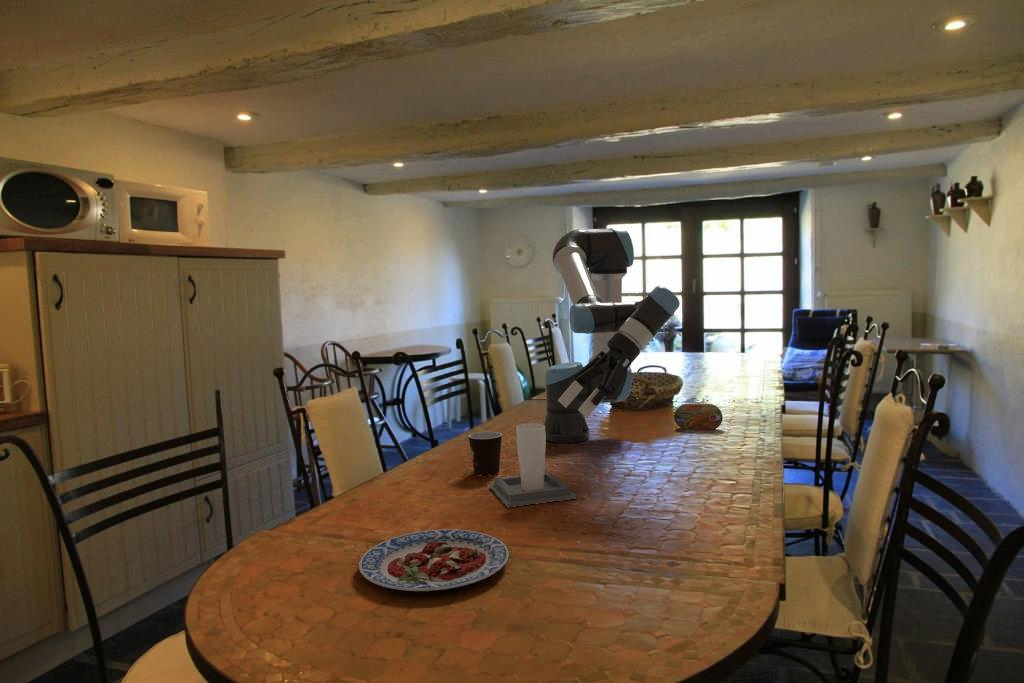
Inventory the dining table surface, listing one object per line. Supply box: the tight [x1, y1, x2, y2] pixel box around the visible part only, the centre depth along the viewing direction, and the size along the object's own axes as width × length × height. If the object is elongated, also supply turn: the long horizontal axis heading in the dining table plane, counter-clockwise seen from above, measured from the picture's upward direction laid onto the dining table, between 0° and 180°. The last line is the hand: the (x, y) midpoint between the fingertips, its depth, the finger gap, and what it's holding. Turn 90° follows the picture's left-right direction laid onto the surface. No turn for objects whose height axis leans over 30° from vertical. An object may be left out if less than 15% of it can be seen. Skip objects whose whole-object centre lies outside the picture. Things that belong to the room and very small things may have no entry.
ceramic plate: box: [358, 528, 510, 592], centre depth 117 cm, size 26×26×3 cm
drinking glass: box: [515, 422, 547, 491], centre depth 155 cm, size 7×7×15 cm
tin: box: [673, 403, 724, 431], centre depth 217 cm, size 15×3×8 cm, turn 73°
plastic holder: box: [489, 471, 577, 508], centre depth 156 cm, size 16×16×2 cm
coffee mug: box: [468, 431, 503, 477], centre depth 176 cm, size 12×9×10 cm
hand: (571, 409), depth 157 cm, fingers open, 13 cm apart
